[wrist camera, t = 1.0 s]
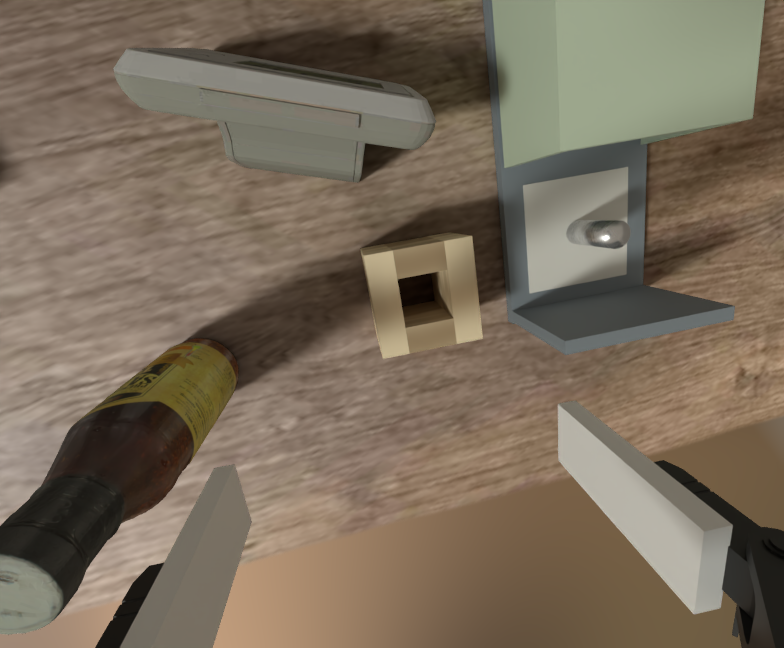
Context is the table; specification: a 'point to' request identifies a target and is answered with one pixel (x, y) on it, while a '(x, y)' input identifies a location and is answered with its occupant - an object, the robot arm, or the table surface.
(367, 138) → the digital clock
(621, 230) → the steel pin
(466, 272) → the birch collar
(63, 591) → the sauce bottle
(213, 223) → the table surface
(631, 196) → the housing base
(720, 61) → the sage cover
